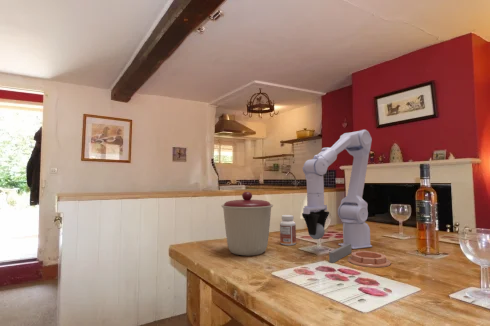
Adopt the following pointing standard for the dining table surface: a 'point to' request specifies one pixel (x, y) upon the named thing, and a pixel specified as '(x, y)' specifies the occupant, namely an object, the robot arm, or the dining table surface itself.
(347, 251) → the low wall
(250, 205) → the canister
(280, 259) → the dining table surface
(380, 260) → the bowl
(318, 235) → the ball
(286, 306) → the dining table surface
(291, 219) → the pill bottle
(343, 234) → the robot arm
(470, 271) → the dining table surface
